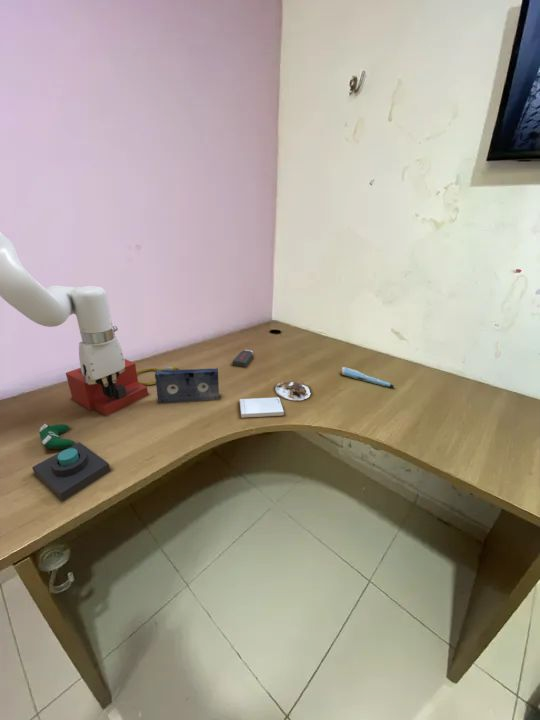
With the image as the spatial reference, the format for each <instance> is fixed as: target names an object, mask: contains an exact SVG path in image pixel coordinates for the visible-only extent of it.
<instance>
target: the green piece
mask: <svg viewBox="0 0 540 720" xmlns="http://www.w3.org/2000/svg"><path fill="white" fill-rule="evenodd" d="M68 430H70V429H69V425H67V424H64V423H59V424H58V423H57V424H53V425H49V424H46V423H44V424H43V425H42V426H41V427H40V428H39V431H38V432H39V436H40V440H41V444H42V446H43V447H45V448H47V449H50V450H51V449H52V450H61V449H62V450H63V449H67V448H69V447H71V446H73V445H75V441H74V440H73V439H69V438H61V437H60V434H63V433H66V432H67V431H68Z"/></svg>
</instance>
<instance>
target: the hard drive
mask: <svg viewBox="0 0 540 720" xmlns="http://www.w3.org/2000/svg"><path fill="white" fill-rule="evenodd" d="M280 398H281V397H280V396H279V397H278V396H277V397H254V398H240V399H239V409H240V418H242V419H243V418H245V419H246V418H259V417H260V418H262V417H263V418H264V417H278V416H279V417H281V416H284V415H285V411H284V409H283V404H282V402H281V399H280Z"/></svg>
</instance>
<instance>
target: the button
mask: <svg viewBox="0 0 540 720" xmlns="http://www.w3.org/2000/svg"><path fill="white" fill-rule="evenodd" d="M58 453H59V454H58ZM58 453H57V454H58V461H59V464H60V465H61V466H68V465H72V464H73V463H75V462H77V461H78V459H79V455H78V452H77V450H76V449H74V448H70V449H67V448H65V449H64V450H61V451H59V452H58Z"/></svg>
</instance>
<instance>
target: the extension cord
mask: <svg viewBox="0 0 540 720" xmlns="http://www.w3.org/2000/svg"><path fill="white" fill-rule="evenodd" d="M161 370H169V371H172V370H178V366H177V365H170V366H167V367H164V368H163V369H158V368H155V367H154V368H145V369H142V370H138V371H136V372H137V376H138V375H140V374H143V373H145V372H151V371H154V372H156V371H161ZM138 383H140V384H142V385H144V386H146V387H148V386H153V385H156V380H155V381H150V382H140V381H138Z"/></svg>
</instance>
